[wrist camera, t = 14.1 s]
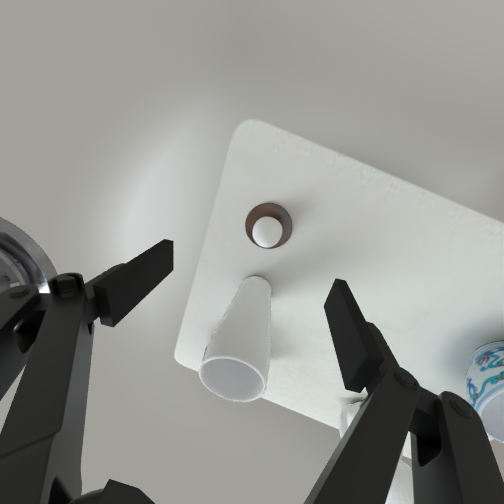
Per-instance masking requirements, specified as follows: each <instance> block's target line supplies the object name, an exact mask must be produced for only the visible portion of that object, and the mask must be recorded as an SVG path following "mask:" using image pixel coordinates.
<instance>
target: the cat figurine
mask: <svg viewBox="0 0 504 504" xmlns="http://www.w3.org/2000/svg"><path fill="white" fill-rule="evenodd" d="M361 403H362V402H356V403H354V404H352V405H351V404H346V405H344V406H343V407H342V408H341V410H340V414H339V430H340V436H341V439H342V437H343V436H344V434H345V432H346V431H347V429H348V427H349V425H350V424H351V422H352V420H353V419H354V417H355V415H356V413H357V412H358V410H359V408H360V407H359V406H360V405H361ZM402 452H403V449H402ZM402 452H401V455H400V458H399V462H398V465H397V468H396V471H395V474H394V477H393V480H392V484H391V487H390V490H389V493H388V496H387V499H386V502H385V504H414V496H413V476H412V469H411V468H410V467H409V466H408V465H407V464H406V463H404V462H403V461H401V457H402Z"/></svg>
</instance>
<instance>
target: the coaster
mask: <svg viewBox="0 0 504 504" xmlns="http://www.w3.org/2000/svg"><path fill="white" fill-rule="evenodd" d="M262 217H272V218H274V219H276V220H278V221H279V222H280V224H281V225H282V236H281V238H280V240H279V241H278V243H277V244H275V245H274V246H272V247H268V248H266V249H272V248H277V247H279V246H281V245H283V244H284V243H285V242H286V241H287V240H288V239H289V237H290V235H291V232H292V221H291V218H290V215H289V214H288V212H287V211H286V210H285V209H284V208H282V207H281V206H279V205H276V204H272V203H265V204H261V205H259V206H257V207H255V208H254V209H253V210H252V211H251V212H250V213H249V215H248V217H247V219H246V225H245V227H246V232H247V235H248V237H249V238H250V240H251V241H252V242H253V243H254V244H256V245H257V246H259V247H261V246H260V245H258V244H257V243H256V242H255V240H254V238H253V233H252V232H253V227H254V225H255V223H256V222H257V221H258V220H259V219H260V218H262ZM262 248H265V247H262Z"/></svg>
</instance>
